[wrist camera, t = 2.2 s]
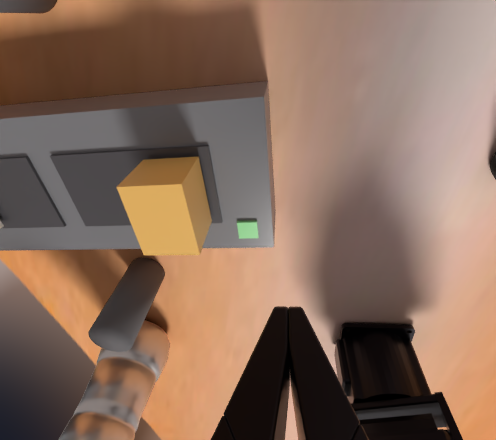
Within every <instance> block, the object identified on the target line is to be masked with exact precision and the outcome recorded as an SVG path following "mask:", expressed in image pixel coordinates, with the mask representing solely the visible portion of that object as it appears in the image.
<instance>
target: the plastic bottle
mask: <svg viewBox="0 0 496 440" xmlns="http://www.w3.org/2000/svg"><path fill="white" fill-rule="evenodd" d="M169 348H170V342H169V339H168V336H167V334H166V332H165V331H164V330H163V329H162V328H161V327H159V326H158V325H156V324H154V323H152V322H149V321H145V320H144V322H143V324H142V326H141V328H140V331H139V333H138V335H137V337H136V339H135V342H134V344H133V346H132V348H131V349H130V350H128V351H125V352H114V351H109V350H106V349H104V348H102V349H101V351H100V354H99V357H98V360H97V365H96V367H95V370H94V372H93V374H92V377H91V379H90V381H89V384H88V386H87V388H86V391H85V393H84V395H83V397H82V400H81V402H80V404H79V405H78V407H77V409H76V410H75V412H74V416H73V417H72V418H71V419H70V421H69V422H68V424H67V426H66V428H65V429H64V431H63V433H62V435H61V436H60V438H59V440H134V437H135V435H134V434H135V432H136V430H137V428H138V424H139V421H140V418H141V415H142V413H143V411H144V408H145V406H146V404H147V401H148V399H149V397H150V394H151V392H152V390H153V387H154V385H155V382H156V381H157V380H158V378H159V376H160V375H161V373H162V371H163V369H164V367H165V364H166V362H167V360H168V355H169Z"/></svg>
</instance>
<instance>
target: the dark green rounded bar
mask: <svg viewBox="0 0 496 440" xmlns="http://www.w3.org/2000/svg"><path fill="white" fill-rule="evenodd" d="M490 169H491V172H492V174H493V176H494V178H495V179H496V153H495V155H494V156H493V158H492V160H491V163H490Z"/></svg>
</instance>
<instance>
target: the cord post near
mask: <svg viewBox="0 0 496 440" xmlns="http://www.w3.org/2000/svg"><path fill="white" fill-rule="evenodd" d="M56 2H57V0H0V13H45V12H48V11H50V10H51V9H52V8H53V7H54V6H55V4H56Z"/></svg>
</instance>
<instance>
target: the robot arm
mask: <svg viewBox="0 0 496 440" xmlns="http://www.w3.org/2000/svg"><path fill="white" fill-rule="evenodd" d="M414 333H415V330H414V327H413V326H412V325H398V324H356V323H345V324H343V325H342V326H341V334H340V340H337V341H336V347H335V361H336V368H337V375H338V378H337V376H336V374H335V372H334V370H333V368H332V366H331V364H330V362H329V360H328V358H327V356H326V354H325V352H324V350H323V348H322V346H321V344H320V342H319V340H318V338H317V336H316V334H315V332H314V330H313V328H312V326H311V324H310V322H309V320H308V318H307V316H306V314H305V312H304V310H303V309H302V308H301V307H289V308H287V307H275V308H274V309H273V311H272V313H271V315H270V317H269V319H268V321H267V323H266V325H265V328H264V330H263V332H262V334H261V336H260V338H259V340H258V342H257V344H256V346H255V349H254V351H253V353H252V355H251V357H250V359H249V361H248V363H247V365H246V368H245V370H244V372H243V374H242V376H241V378H240V380H239V382H238V384H237V386H236V389H235V391H234V393H233V395H232V397H231V399H230V401H229V403H228V405H227V407H226V410H225V412H224V416H222V418H221V420H220V422H219V424H218V426H217V428H216V430H215V432H214V434H213V436H212V438H211V440H285V431H286V420H287V409H288V398H289V386H290V380H291V389H292V397H293V404H294V411H295V418H296V426H297V433H298V440H463V439H462V436H461V434H460V432H459V430H458V427H457V425H456V423H455V421H454V418H453V416H452V414H451V412H450V409H449V407H448V405H447V403H446V400H445V398H444V396H443V394H442V392H436V393H435V394H431V392H430V389H429V387H428V384H427V382H426V379H425V376H424V374H423V371H422V369H421V366H420V364H419V361H418V358H417V356H416V353H415V351H414V348H413V346H412V343H411V341H412V338H413V336H414ZM438 427H446V428H447V430H443V429H440V430H438V429H437V428H438Z"/></svg>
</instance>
